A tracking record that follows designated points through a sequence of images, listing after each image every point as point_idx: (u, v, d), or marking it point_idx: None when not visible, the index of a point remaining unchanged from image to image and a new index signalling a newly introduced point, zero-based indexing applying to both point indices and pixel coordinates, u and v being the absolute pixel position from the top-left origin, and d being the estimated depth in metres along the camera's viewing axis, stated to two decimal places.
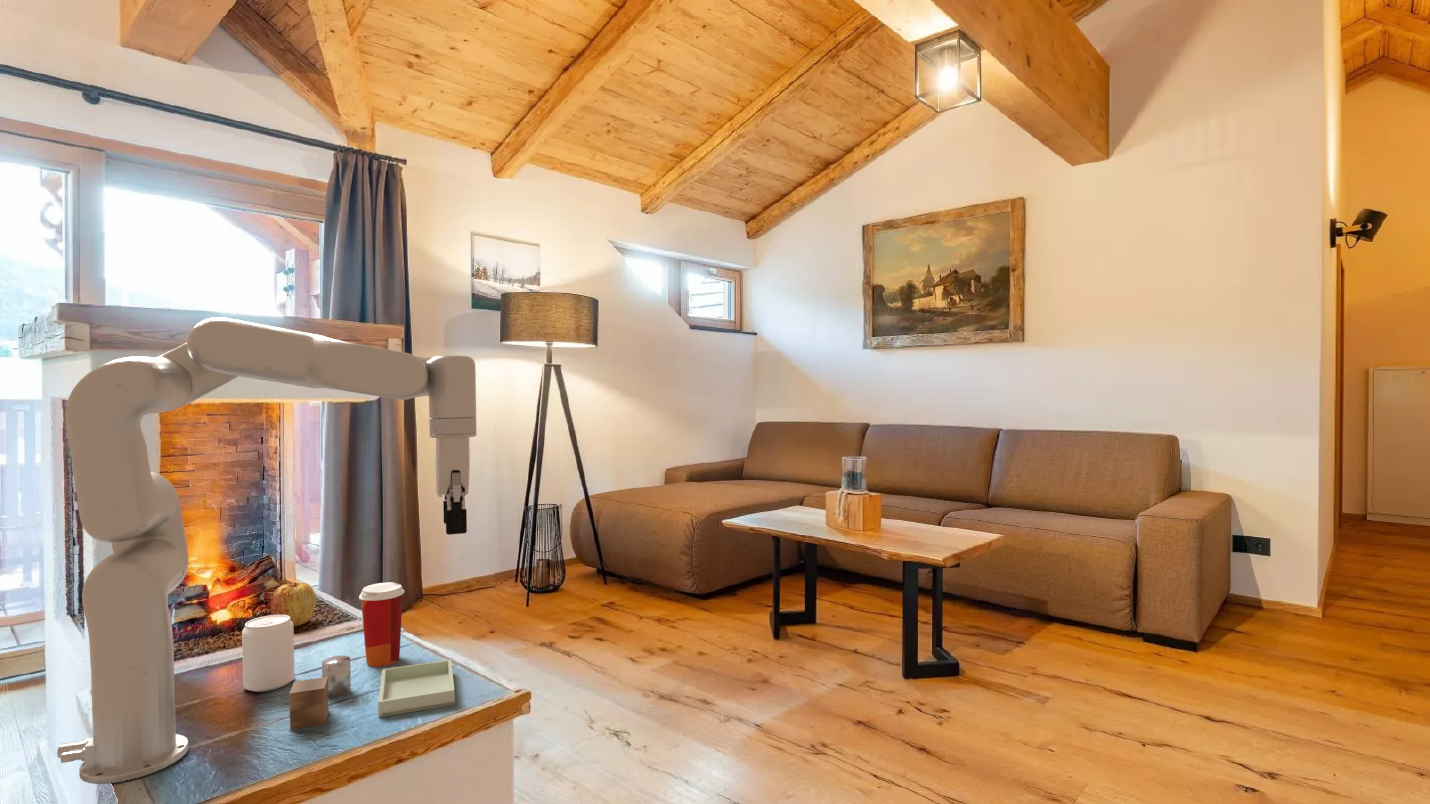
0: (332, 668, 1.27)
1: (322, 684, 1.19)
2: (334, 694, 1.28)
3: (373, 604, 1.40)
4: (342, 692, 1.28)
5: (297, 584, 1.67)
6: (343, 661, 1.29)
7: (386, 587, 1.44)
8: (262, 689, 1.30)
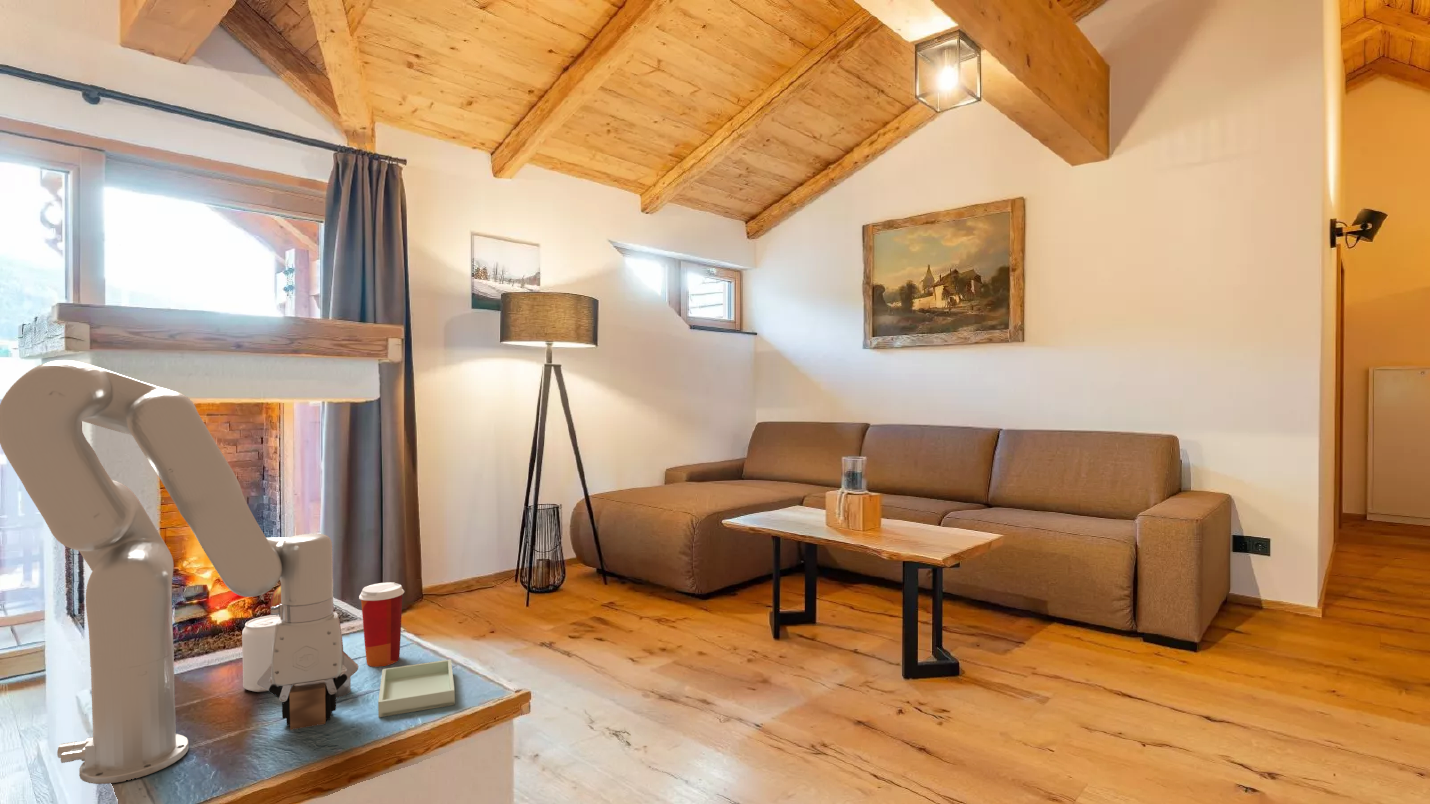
0: None
1: (322, 684, 1.19)
2: None
3: (373, 604, 1.40)
4: (342, 692, 1.28)
5: None
6: None
7: (386, 587, 1.44)
8: (262, 689, 1.30)
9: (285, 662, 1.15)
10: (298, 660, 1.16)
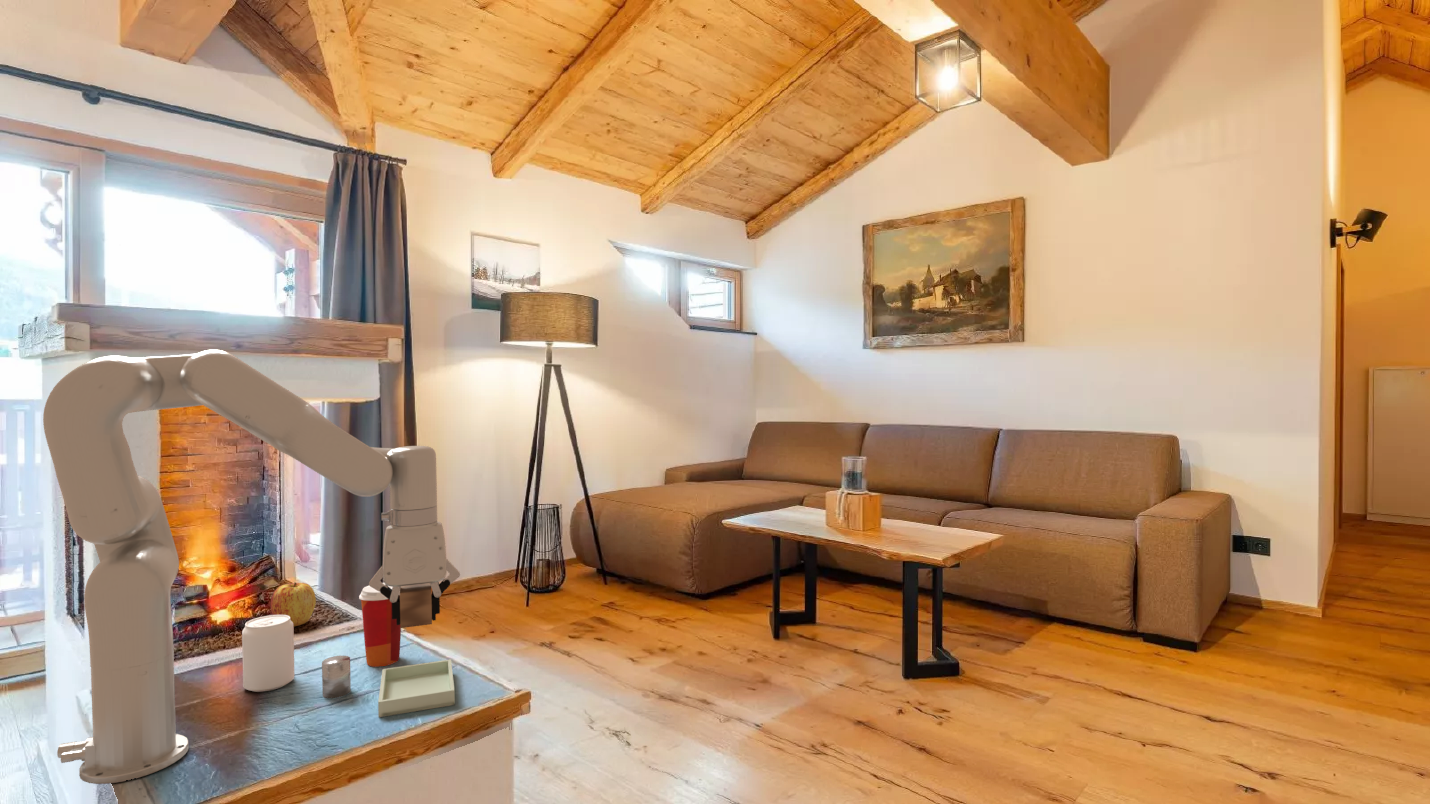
0: (332, 668, 1.27)
1: (428, 587, 1.25)
2: (334, 694, 1.28)
3: (373, 604, 1.40)
4: (342, 692, 1.28)
5: (297, 584, 1.67)
6: (343, 661, 1.29)
7: None
8: (262, 689, 1.30)
9: (396, 564, 1.22)
10: (408, 562, 1.22)
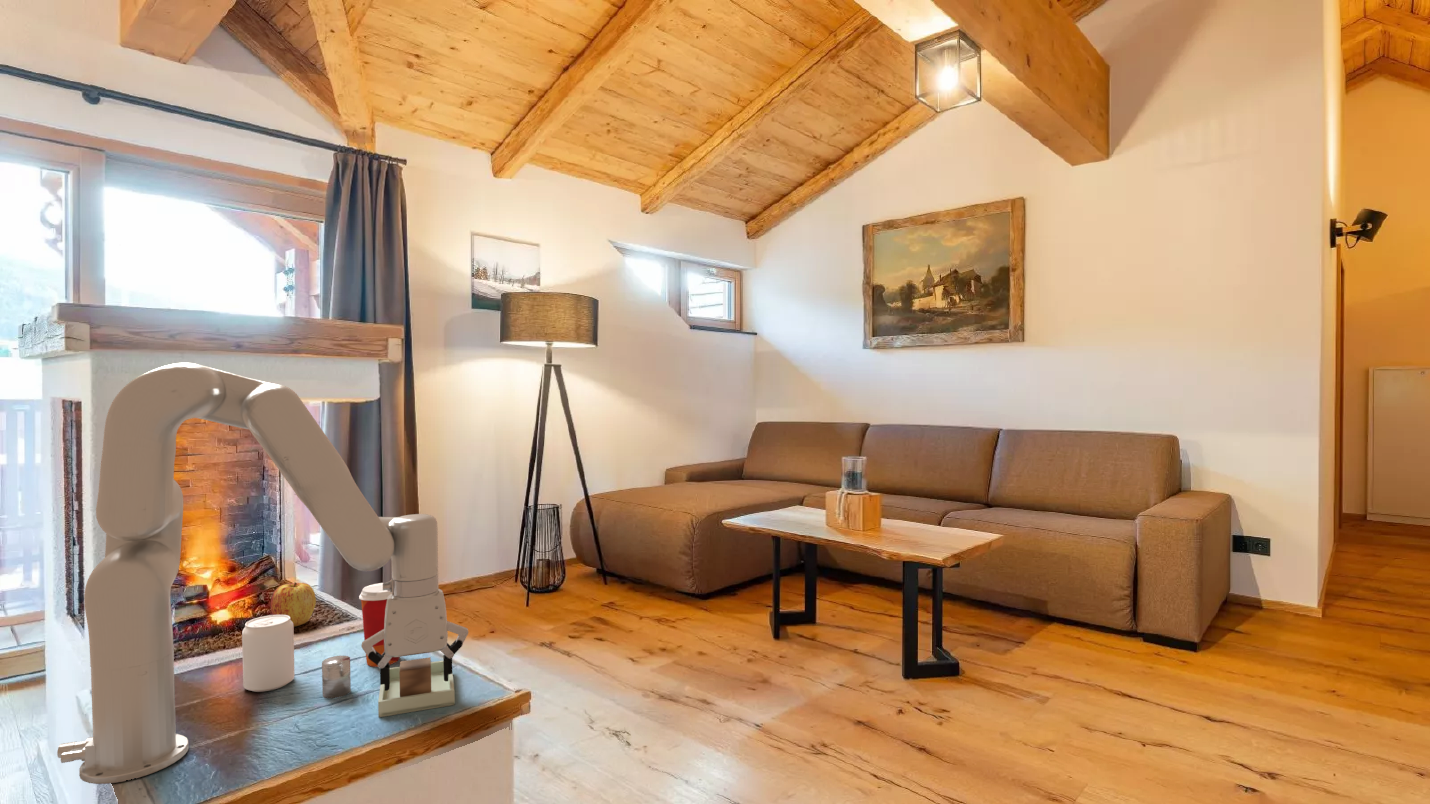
0: (332, 668, 1.27)
1: (427, 664, 1.26)
2: (334, 694, 1.28)
3: (373, 604, 1.40)
4: (342, 692, 1.28)
5: (297, 584, 1.67)
6: (343, 661, 1.29)
7: None
8: (262, 689, 1.30)
9: (397, 635, 1.22)
10: (409, 633, 1.23)
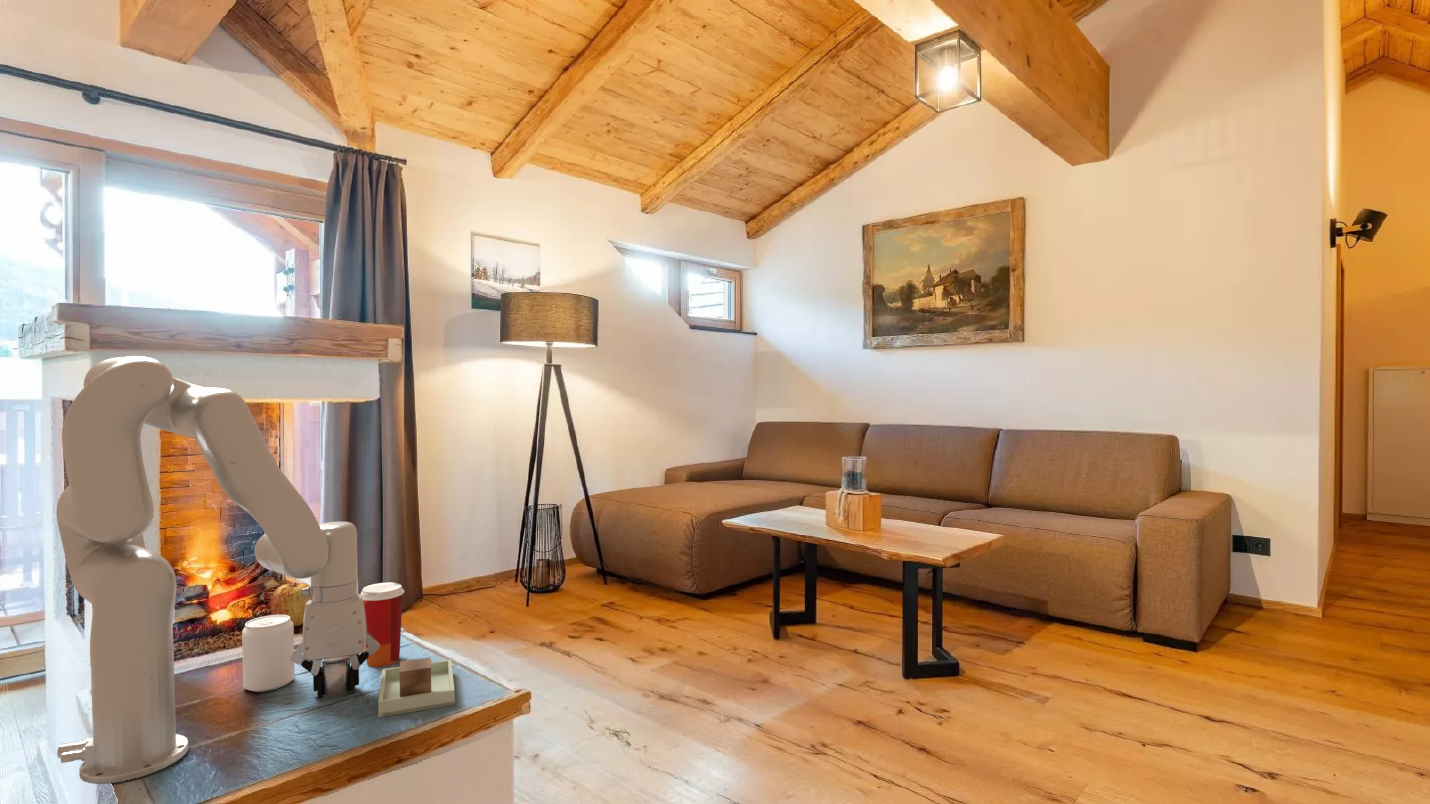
0: (332, 668, 1.27)
1: (427, 664, 1.26)
2: (334, 694, 1.28)
3: (373, 604, 1.40)
4: (342, 692, 1.28)
5: (297, 584, 1.67)
6: (343, 660, 1.29)
7: (386, 587, 1.44)
8: (262, 689, 1.30)
9: (315, 639, 1.26)
10: (326, 637, 1.26)
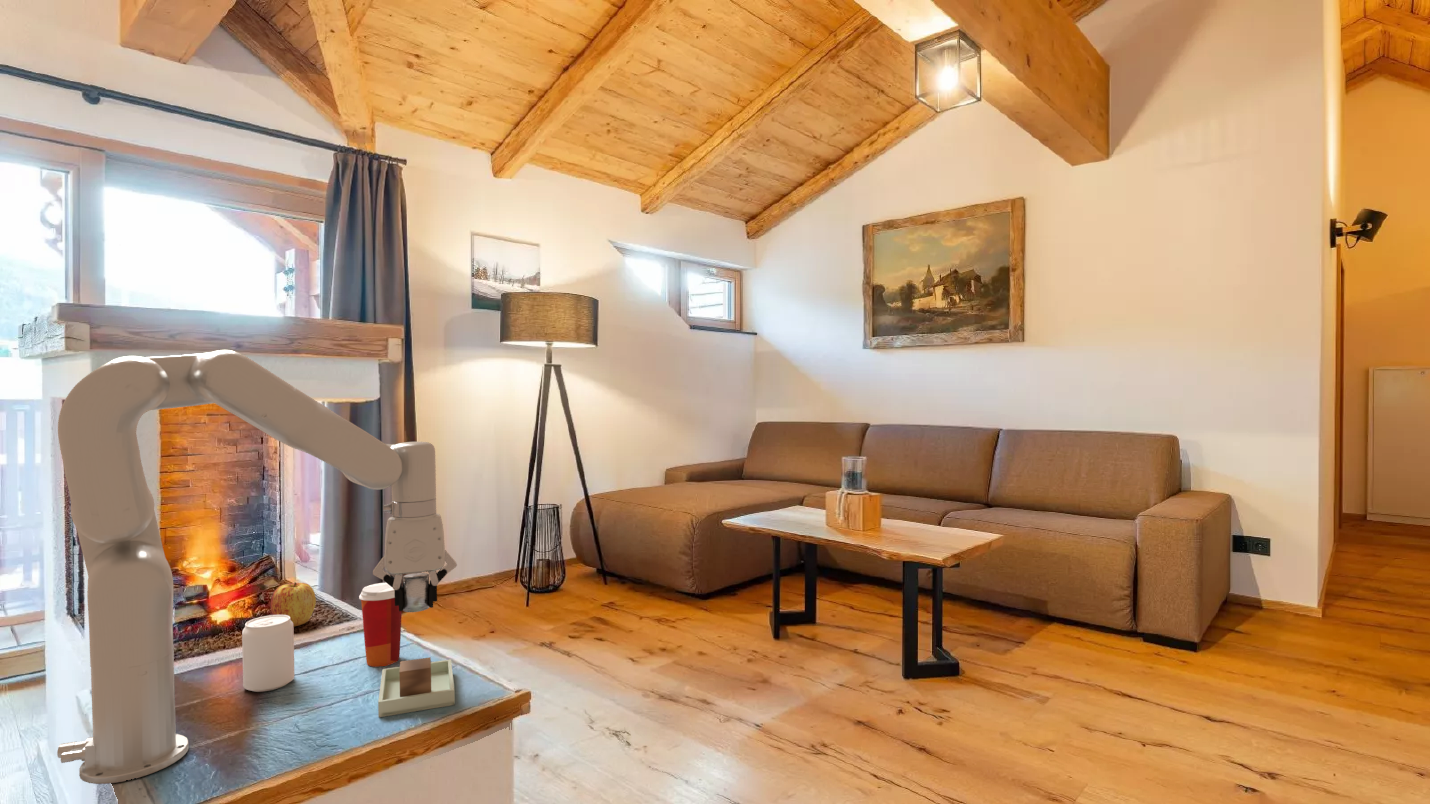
0: (413, 582, 1.30)
1: (427, 664, 1.26)
2: (415, 608, 1.30)
3: (373, 604, 1.40)
4: (422, 606, 1.31)
5: (297, 584, 1.67)
6: (422, 576, 1.32)
7: (386, 587, 1.44)
8: (262, 689, 1.30)
9: (397, 553, 1.29)
10: (408, 552, 1.29)
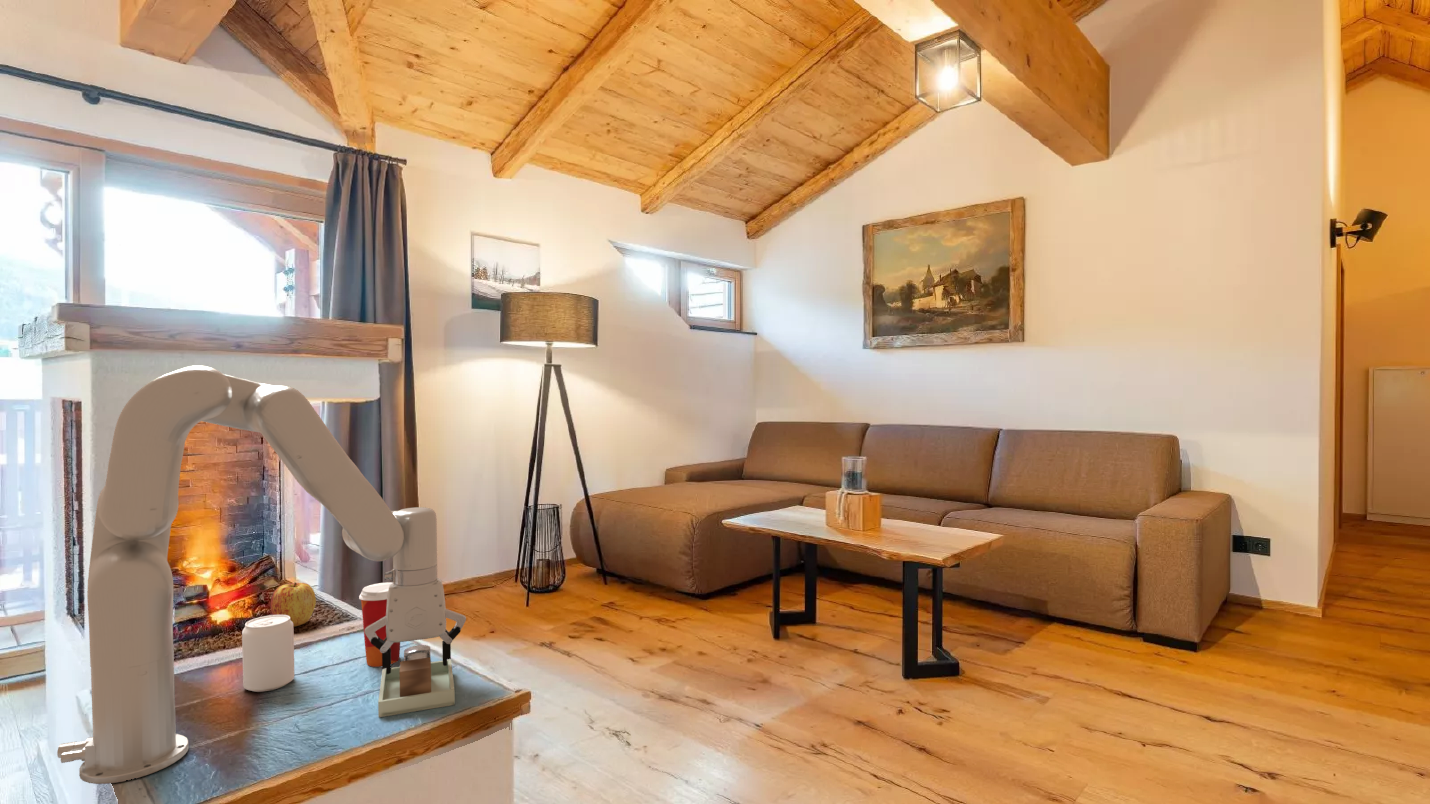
0: (414, 657, 1.31)
1: (427, 664, 1.26)
2: None
3: (373, 604, 1.40)
4: None
5: (297, 584, 1.67)
6: (424, 650, 1.32)
7: (386, 587, 1.44)
8: (262, 689, 1.30)
9: (398, 621, 1.29)
10: (409, 619, 1.30)
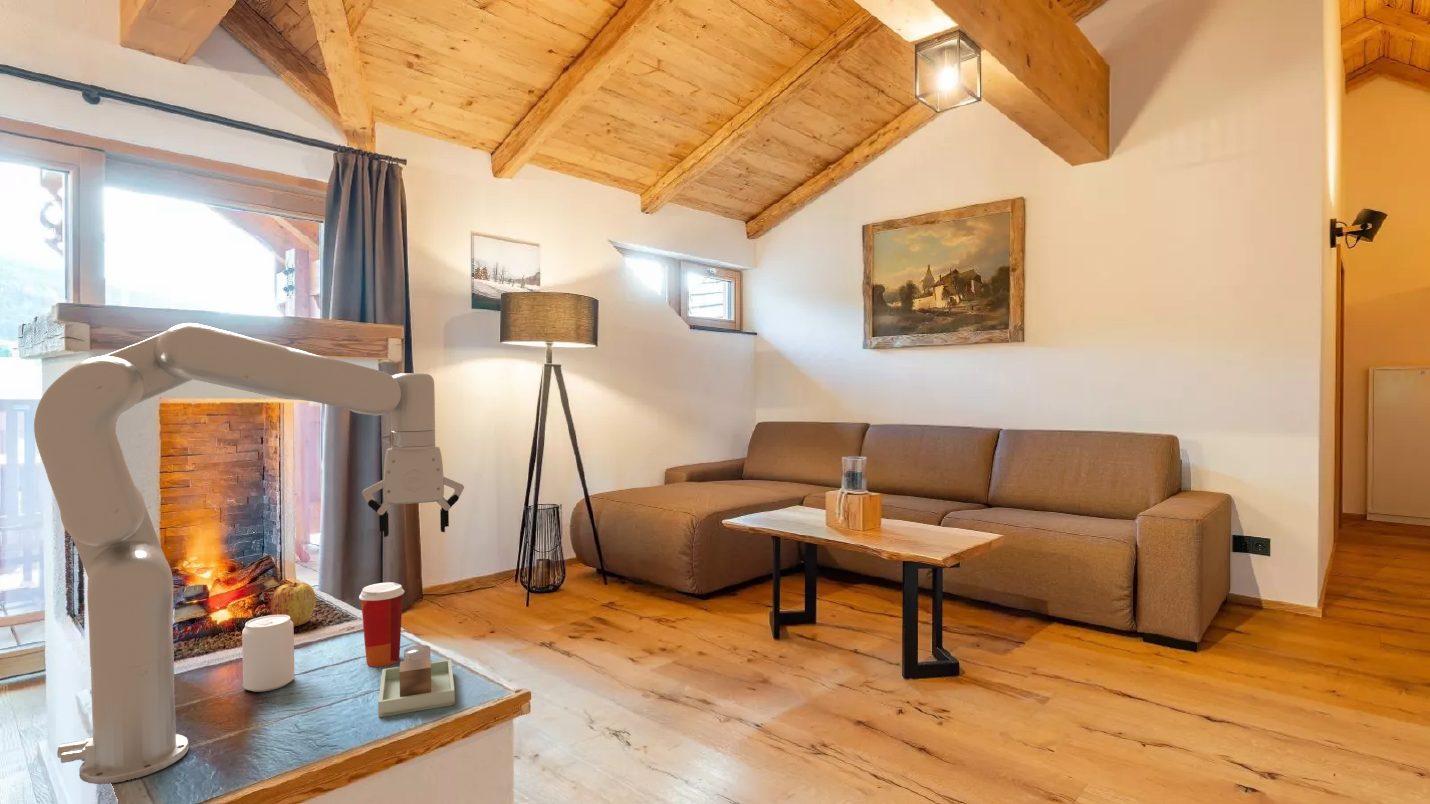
0: (414, 657, 1.31)
1: (427, 664, 1.26)
2: None
3: (373, 604, 1.40)
4: None
5: (297, 584, 1.67)
6: (424, 650, 1.32)
7: (386, 587, 1.44)
8: (262, 689, 1.30)
9: (396, 483, 1.28)
10: (407, 482, 1.29)
